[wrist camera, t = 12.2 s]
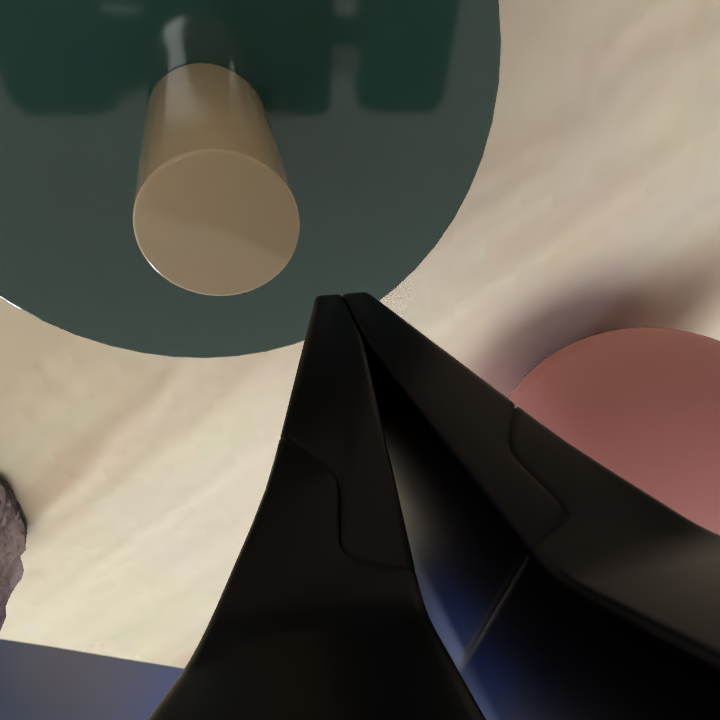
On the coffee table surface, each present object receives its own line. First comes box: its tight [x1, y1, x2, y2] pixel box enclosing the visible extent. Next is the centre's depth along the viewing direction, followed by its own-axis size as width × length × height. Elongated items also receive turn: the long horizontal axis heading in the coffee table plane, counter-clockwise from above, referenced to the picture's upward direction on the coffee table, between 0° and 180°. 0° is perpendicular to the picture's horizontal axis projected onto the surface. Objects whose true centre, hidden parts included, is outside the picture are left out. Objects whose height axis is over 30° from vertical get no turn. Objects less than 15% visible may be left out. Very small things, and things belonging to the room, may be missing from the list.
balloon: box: [508, 328, 720, 535], centre depth 27 cm, size 15×20×15 cm
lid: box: [0, 0, 501, 358], centre depth 11 cm, size 14×14×6 cm
